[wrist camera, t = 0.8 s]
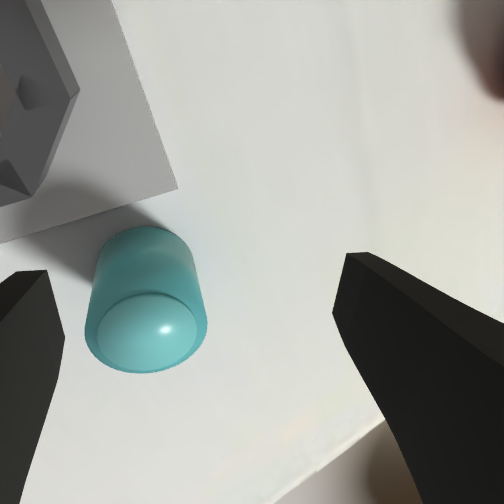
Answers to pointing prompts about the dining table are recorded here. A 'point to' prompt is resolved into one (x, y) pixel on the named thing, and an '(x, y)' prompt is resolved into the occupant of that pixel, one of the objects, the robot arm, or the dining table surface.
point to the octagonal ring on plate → (71, 117)
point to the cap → (145, 302)
